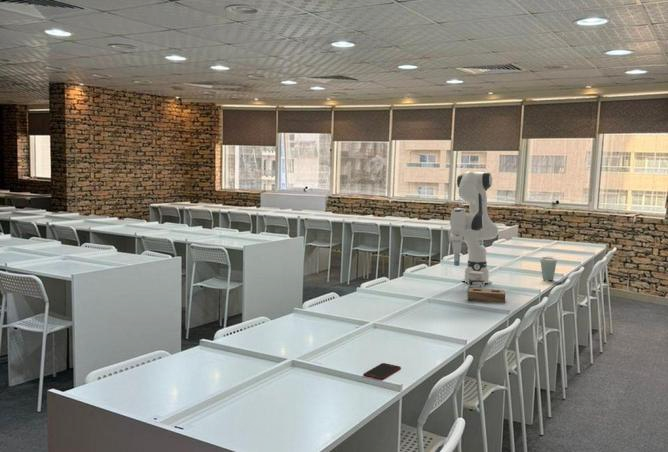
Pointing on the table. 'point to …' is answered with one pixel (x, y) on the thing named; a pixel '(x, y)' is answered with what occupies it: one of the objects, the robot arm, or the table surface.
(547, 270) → the disposable coffee cup
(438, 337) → the table surface
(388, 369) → the cell phone
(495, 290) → the block
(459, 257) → the pin
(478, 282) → the ink box
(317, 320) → the table surface
